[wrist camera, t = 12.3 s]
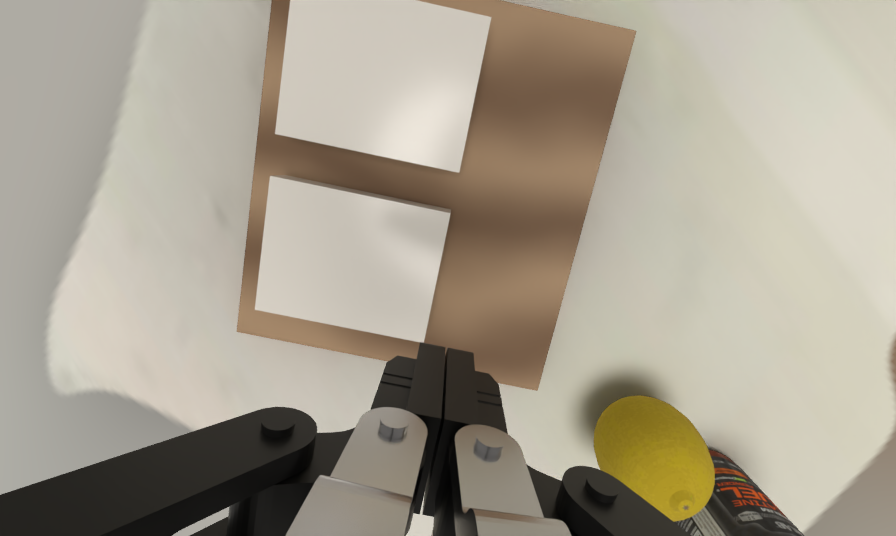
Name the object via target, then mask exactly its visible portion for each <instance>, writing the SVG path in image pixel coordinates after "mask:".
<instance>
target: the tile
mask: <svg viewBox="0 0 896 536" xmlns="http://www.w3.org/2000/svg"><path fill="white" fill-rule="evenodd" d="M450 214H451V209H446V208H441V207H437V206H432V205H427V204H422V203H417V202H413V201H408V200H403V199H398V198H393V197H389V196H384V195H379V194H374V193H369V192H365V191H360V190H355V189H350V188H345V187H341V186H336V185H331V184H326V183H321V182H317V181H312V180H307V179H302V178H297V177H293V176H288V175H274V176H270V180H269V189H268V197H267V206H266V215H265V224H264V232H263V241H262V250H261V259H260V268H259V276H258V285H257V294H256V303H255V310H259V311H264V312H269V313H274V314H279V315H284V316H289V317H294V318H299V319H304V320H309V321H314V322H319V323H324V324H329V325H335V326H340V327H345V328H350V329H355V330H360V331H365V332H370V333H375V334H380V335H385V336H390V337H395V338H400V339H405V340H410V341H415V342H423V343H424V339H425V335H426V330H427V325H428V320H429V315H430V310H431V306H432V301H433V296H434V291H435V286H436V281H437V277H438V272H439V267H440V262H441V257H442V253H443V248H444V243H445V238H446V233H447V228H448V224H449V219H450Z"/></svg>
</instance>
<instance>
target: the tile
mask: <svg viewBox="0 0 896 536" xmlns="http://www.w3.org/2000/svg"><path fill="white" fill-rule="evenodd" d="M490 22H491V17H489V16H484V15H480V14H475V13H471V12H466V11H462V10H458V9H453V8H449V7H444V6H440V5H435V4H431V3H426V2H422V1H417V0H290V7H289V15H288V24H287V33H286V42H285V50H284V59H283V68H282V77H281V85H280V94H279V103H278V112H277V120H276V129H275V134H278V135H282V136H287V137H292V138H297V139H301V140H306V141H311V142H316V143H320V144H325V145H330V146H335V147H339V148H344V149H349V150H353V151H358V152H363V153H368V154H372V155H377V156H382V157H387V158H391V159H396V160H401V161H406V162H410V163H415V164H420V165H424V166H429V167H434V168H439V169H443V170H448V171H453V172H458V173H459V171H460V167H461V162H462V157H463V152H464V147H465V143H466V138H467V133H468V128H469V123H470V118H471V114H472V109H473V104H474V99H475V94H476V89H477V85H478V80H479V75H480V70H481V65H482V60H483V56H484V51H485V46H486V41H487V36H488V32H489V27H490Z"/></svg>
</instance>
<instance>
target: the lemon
mask: <svg viewBox="0 0 896 536" xmlns="http://www.w3.org/2000/svg"><path fill="white" fill-rule="evenodd" d="M594 450H595V454H596V458H597V462H598V465H599V467H600V470H601V471H604V472H606V473H608V474H610V475H612V476H613V477H615V478H616V479H618V480H619V481H621V482H622V483H623V484H625V485H626V486H627V487H629V488H630V489H631V490H633V491H634V492H635V493H636V494H638V495H639V496H640V497H642V498H643V499H644V500H646V501H647V502H648V503H650V504H651V505H652V506H654V507H655V508H656V509H657V510H659V511H660V512H661V513H663V514H664V515H665V516H667V517H668V518H669V519H671V520H672V521H673V522H675V521H681V520H685V519H687V518H690V517H692V516H694V515H695V514H697V513H698V512H700V511H701V510H702V509H703V507H704V506H705V505H706V504H707V502H708V501H709V499H710V497H711V495H712V492H713V488H714V485H715V470H714V464H713V462H712V459H711V456H710V453H709V450H708V448H707V445H706V443H705V442H704V440H703V438H702V437H701V435H700V434H699V432H698V431H697V429H696V428H695V427H694V425H693V424H692V423H691V422H690V420H689V419H688V418H687V417H685V416H684V415H683V414H682V413H680V412H679V411H678V410H677V409H675V408H674V407H673V406H671V405H670V404H668V403H666V402H663V401H661V400H658V399H656V398H653V397H647V396H628V397H625V398H622V399H619V400H617V401H615V402H614V403H612V404H610V405H609V406H608V407H607V408H606V409H605V410H604V411H603V413H602V414H601V416H600V417H599V419H598V421H597V424H596V427H595V431H594Z"/></svg>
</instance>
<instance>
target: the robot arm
mask: <svg viewBox="0 0 896 536" xmlns="http://www.w3.org/2000/svg"><path fill="white" fill-rule="evenodd" d="M445 349H446V347H443V346H438V345H433V344H428V343H423V342H420V344H419V349H418V354H417V359H413V358H408V357H403V356H398V355H397V356H396V357H394V358H393V359H391V360H390V361H388V362H387V363H386V366H385V369H384V372H383V375H382V378H381V381H380V384H379V387H378V390H377V392H376V395H375V398H374V401H373V404H372V407H371V410H370V411H368V412H366V413H365V414H363V415H362V417H361V418H360V420H359V422H358V423H357V425H356V427H355V428H353V429H350V430H347V431H342V432H333V433H317V426H316V423H315V421H314V420H313V419H312V418H311V417H310V416H309V415H308V414H306V413H304V412H302V411H300V410H297V409H293V408H286V407H271V408H265V409H261V410H257V411H254V412H251V413H248V414H245V415H242V416H239V417H236V418H233V419H230V420H227V421H224V422H221V423H218V424H215V425H212V426H209V427H206V428H203V429H200V430H197V431H194V432H190V433H187V434H184V435H181V436H178V437H175V438H172V439H169V440H166V441H163V442H161V443H157V444H154V445H151V446H148V447H145V448H142V449H139V450H136V451H133V452H130V453H127V454H124V455H120V456H117V457H114V458H111V459H108V460H105V461H102V462H99V463H96V464H93V465H90V466H87V467H84V468H81V469H78V470H75V471H72V472H69V473H66V474H63V475H60V476H57V477H54V478H50V479H47V480H44V481H41V482H38V483H35V484H32V485H29V486H26V487H23V488H20V489H17V490H14V491H11V492H8V493H5V494H2V495H0V536H172V535H173V534H175V533H176V532H178V531H179V530H181V529H183V528H185V527H187V526H189V525H192V524H194V523H196V522H197V521H200V520H202V519H204V518H206V517H208V516H210V515H212V514H214V513H216V512H219V511H221V510H222V509H225V508H227V507H229V506H230V508H229V516H228V517H226V518H224V519H222V520H220V521H218V522H216V523H214V524H212V525H210V526H208V527H207V528H204V529H202V530H200V531H198V532H196V533H194V534H192V535H190V536H406V534H407V533H408V531H409V529H410V525H411V521H412V516H413V513H416V514H420V510H421V505H422V501H423V496H424V505H423V515H427V516H433V517H434V527H433V531H432V535H431V536H692V535H690V534H689V533H688V532H686V531H685V530H684V529H682V528H681V527H680V526H678V525H677V524H676V523H675V522H673V521H672V520H671V519H669V518H668V517H667V516H665V515H664V514H663V513H661V512H660V511H659V510H657V509H656V508H655V507H654V506H652V505H651V504H650V503H648V502H647V501H646V500H644V499H643V498H642V497H640V496H639V495H638V494H636V493H635V492H634V491H633V490H631V489H630V488H629V487H627V486H626V485H625V484H623V483H622V482H621V481H619V480H618V479H616V478H615V477H613V476H612V475H610V474H608V473H606V472H604V471H601V470H599V469H596V468H592V467H586V466H575V467H572V468H569V469H568V470H567V471H566V472H565V473H564V475H563V478H562V481H560V480H558V479H555V478H553V477H550V476H548V475H546V474H543V473H541V472H539V471H537V470H535V469H533V468H531V467H530V466H528V465H527V464H526V462H525V459H524V456H523V452H522V450H521V448H520V446H519V444H518V443H517V442H516V441H515V440H514V439H513V438H512V437H511V436H510V435H508V433H507V428H506V422H505V417H504V412H503V407H502V401H501V398H500V396H501V395H500V390H499V385H498V383H497V382H496V381H495V380H494V379H493V377H492V376H491V375H490V374H489V373H484V372H479V371H475V365H474V354H473V352H468V351H463V350H458V349H453V348H447V350H446V354H445ZM424 492H425V495H424Z"/></svg>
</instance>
